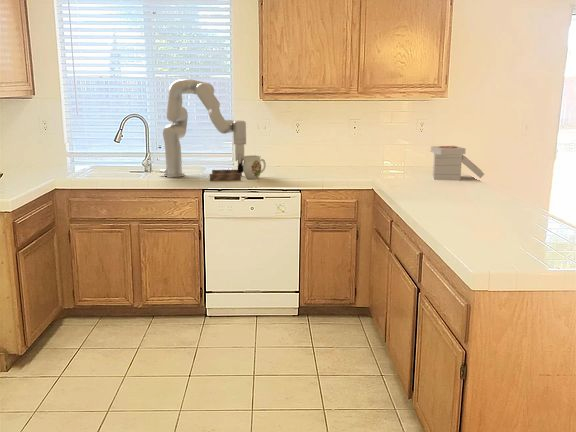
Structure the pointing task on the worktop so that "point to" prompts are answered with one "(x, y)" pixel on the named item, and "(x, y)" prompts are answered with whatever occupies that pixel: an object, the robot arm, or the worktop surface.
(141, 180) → the worktop surface
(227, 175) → the wooden planks
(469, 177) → the worktop surface
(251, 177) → the pitcher
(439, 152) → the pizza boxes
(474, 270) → the worktop surface
